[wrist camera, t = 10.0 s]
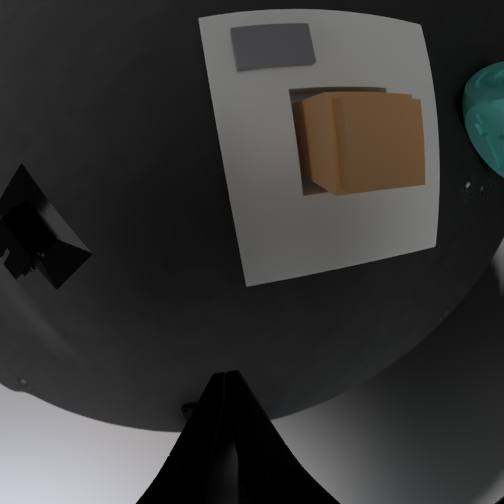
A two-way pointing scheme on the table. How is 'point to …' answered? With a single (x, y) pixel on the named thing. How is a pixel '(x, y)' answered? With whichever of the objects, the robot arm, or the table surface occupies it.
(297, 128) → the brown block
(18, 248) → the black angular piece
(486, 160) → the decorative dice
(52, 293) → the table surface
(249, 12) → the socket plate
